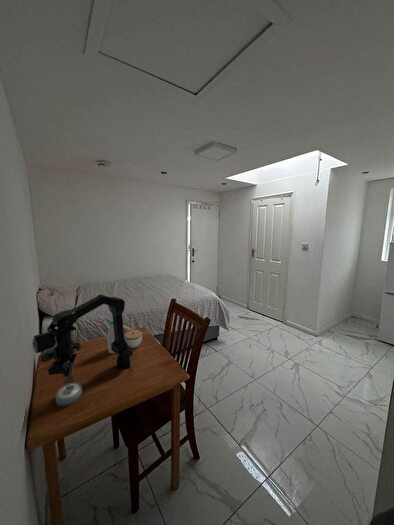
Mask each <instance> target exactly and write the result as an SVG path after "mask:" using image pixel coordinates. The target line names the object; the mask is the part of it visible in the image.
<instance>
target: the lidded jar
mask: <svg viewBox="0 0 394 525" xmlns="http://www.w3.org/2000/svg"><path fill="white" fill-rule="evenodd" d="M124 339H125V341H126V342H127V345H128V348H133V349H135V348H137V347H139V346H140V344H141V343H142V340H143V333H142V331H141V330H134V329H133V330H129V331H127V332H125V333H124Z"/></svg>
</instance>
